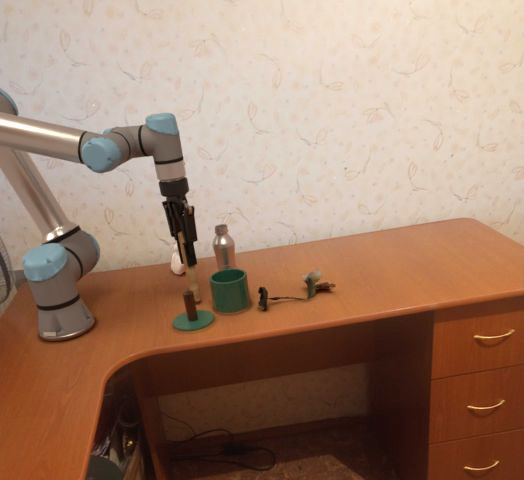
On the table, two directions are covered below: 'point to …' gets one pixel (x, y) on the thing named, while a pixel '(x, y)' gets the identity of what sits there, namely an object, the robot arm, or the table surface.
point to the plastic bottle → (224, 248)
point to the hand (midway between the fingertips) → (189, 263)
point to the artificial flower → (308, 279)
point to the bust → (177, 262)
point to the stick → (190, 272)
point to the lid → (192, 315)
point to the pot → (230, 290)
